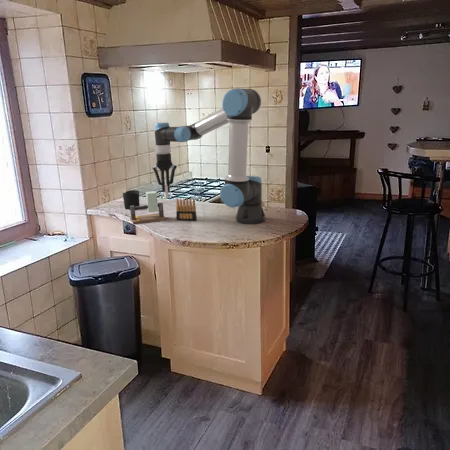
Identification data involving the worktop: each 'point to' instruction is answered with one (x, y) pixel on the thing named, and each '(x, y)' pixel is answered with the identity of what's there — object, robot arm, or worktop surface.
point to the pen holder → (131, 198)
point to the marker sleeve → (152, 201)
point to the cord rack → (147, 217)
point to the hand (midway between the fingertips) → (166, 197)
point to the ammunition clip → (186, 210)
